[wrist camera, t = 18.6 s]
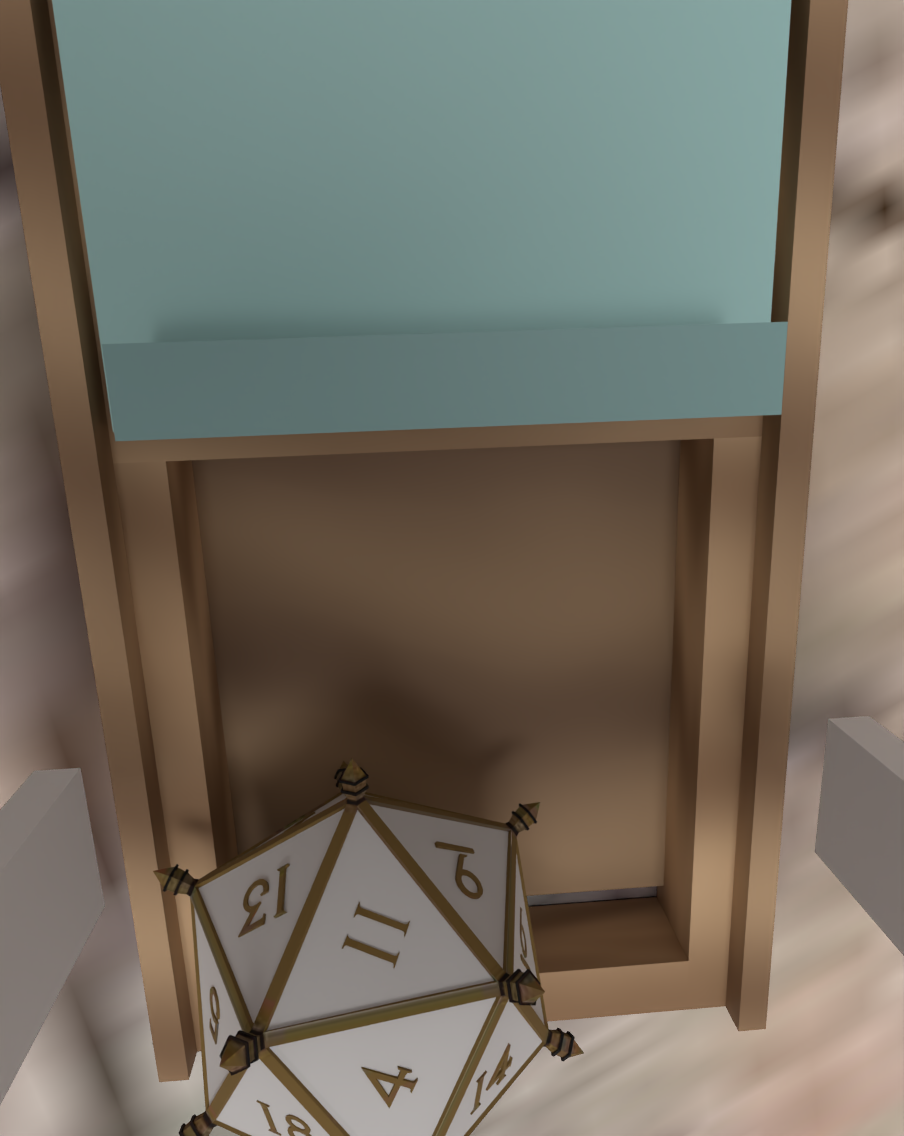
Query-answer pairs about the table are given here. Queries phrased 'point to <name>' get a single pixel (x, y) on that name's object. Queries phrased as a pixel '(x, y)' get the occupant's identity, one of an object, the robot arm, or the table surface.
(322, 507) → the board
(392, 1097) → the game die
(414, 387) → the cover
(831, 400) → the table surface
